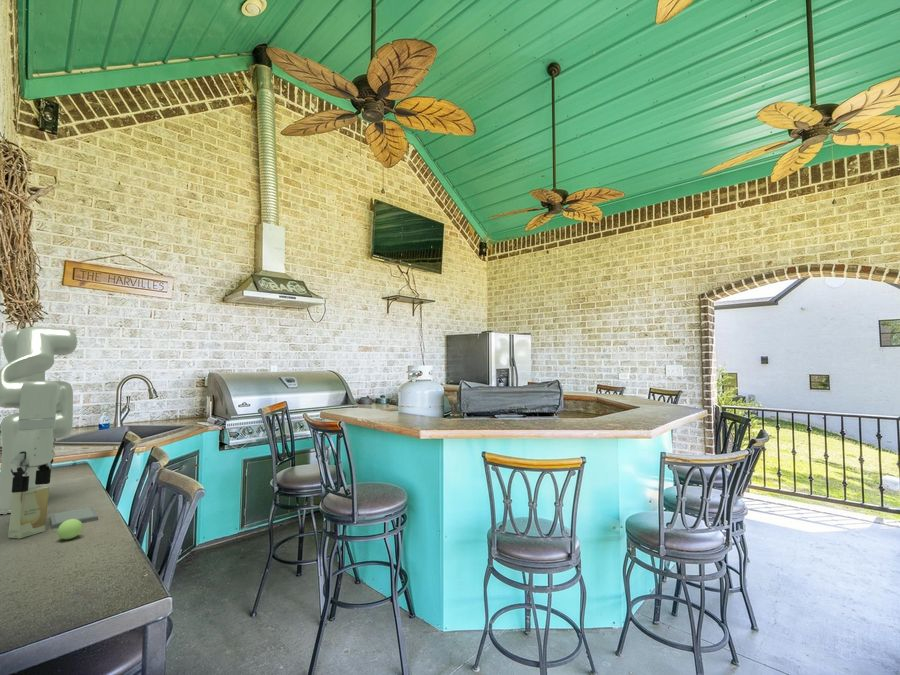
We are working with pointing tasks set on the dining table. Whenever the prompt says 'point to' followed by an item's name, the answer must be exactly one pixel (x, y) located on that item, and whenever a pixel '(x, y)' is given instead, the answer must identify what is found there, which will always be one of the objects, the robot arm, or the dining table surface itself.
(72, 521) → the lime
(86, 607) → the dining table surface
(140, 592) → the dining table surface
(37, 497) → the skincare box
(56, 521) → the metal tray
